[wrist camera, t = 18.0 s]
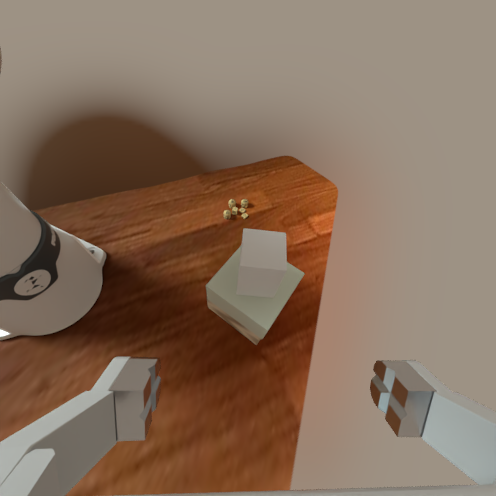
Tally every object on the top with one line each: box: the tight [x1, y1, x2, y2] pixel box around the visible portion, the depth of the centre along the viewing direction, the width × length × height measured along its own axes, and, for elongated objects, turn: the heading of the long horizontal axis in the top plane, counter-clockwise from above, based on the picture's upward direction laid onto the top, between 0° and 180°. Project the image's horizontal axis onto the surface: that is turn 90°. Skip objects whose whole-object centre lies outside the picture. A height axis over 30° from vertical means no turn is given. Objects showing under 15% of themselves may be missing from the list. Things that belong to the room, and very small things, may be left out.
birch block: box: [207, 299, 261, 345], centre depth 41 cm, size 10×10×5 cm
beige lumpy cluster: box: [224, 199, 248, 219], centre depth 53 cm, size 5×5×2 cm
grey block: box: [236, 228, 287, 298], centre depth 31 cm, size 5×5×8 cm
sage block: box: [206, 246, 305, 339], centre depth 37 cm, size 10×10×5 cm
